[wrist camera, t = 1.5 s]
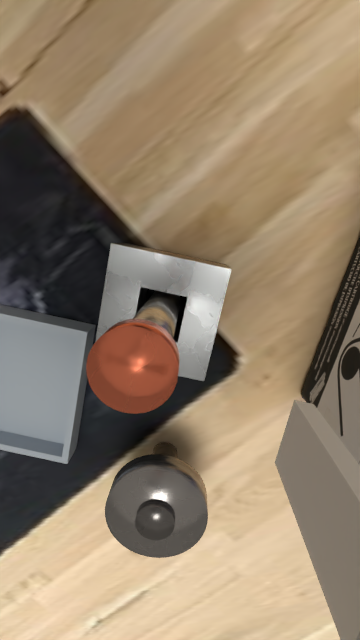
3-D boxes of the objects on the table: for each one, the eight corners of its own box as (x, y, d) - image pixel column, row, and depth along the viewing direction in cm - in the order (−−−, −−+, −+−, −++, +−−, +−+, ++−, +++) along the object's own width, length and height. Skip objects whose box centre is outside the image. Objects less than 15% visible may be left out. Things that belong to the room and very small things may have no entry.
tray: (-13, 301, 32) (-30, 306, 29) (95, 325, 32) (87, 332, 29) (-23, 427, 35) (-39, 441, 32) (76, 448, 35) (67, 463, 32)
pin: (147, 276, 30) (93, 317, 14) (191, 286, 30) (186, 337, 14) (139, 319, 31) (80, 402, 15) (182, 328, 31) (167, 421, 15)
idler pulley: (133, 409, 33) (111, 467, 25) (213, 426, 33) (219, 490, 25) (119, 478, 35) (94, 554, 27) (195, 494, 35) (195, 576, 27)
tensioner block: (124, 242, 30) (111, 243, 25) (225, 264, 30) (231, 269, 25) (108, 339, 32) (92, 357, 27) (202, 359, 32) (204, 381, 27)
